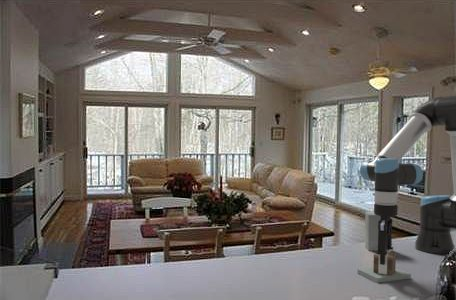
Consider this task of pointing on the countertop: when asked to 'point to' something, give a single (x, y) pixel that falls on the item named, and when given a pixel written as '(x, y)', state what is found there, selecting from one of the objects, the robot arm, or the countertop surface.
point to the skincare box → (371, 231)
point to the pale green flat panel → (383, 275)
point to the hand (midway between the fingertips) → (384, 270)
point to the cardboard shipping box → (390, 263)
